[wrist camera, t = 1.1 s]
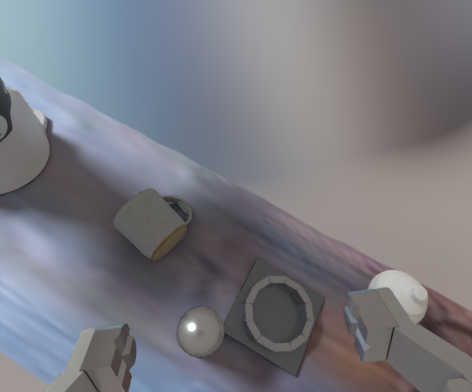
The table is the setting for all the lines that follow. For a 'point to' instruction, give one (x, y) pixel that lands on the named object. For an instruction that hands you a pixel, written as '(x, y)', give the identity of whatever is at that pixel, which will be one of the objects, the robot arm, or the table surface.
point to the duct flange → (274, 316)
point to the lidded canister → (200, 331)
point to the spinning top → (404, 292)
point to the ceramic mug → (152, 222)
